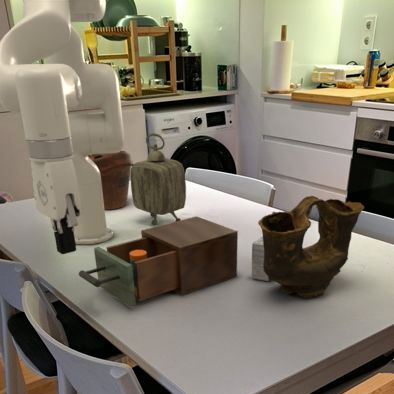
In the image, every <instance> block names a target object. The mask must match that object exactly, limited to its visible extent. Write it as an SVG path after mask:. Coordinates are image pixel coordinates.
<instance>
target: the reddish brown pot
mask: <svg viewBox="0 0 394 394" xmlns="http://www.w3.org/2000/svg"><path fill="white" fill-rule="evenodd" d="M88 157H89V158H90V159H91V160H92V161H93V162H94V163H95V164H96V166H97V167H98V169H99V171H100V175H101V184H102V192H103V201H104V209H105V210H115V209H120V208H123V207H125V206H127V204H128V198H129V197H128V196H129V189H130V188H129V187H130V181H131V177H130V175H131V168H132V166H133V164H134V162H133V159H132V156H131V154H130V153H129V152H128V151H127V150H121V151H120V152H117V153H110V154H92V155H88Z"/></svg>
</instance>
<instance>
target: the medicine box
mask: <svg viewBox="0 0 394 394" xmlns="http://www.w3.org/2000/svg"><path fill="white" fill-rule="evenodd" d="M263 263H264V246H263V236H261V237H260V238H258V239H257V240H255V241H254V242H252V245H251V275H250V277H251V279H253V280H258V281H263V282H270V281H271V279H270V278H268V276H267V274H266V273H265V272H264V268H263Z"/></svg>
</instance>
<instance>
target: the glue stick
mask: <svg viewBox="0 0 394 394" xmlns="http://www.w3.org/2000/svg"><path fill="white" fill-rule="evenodd" d="M129 254H130V264H131V265H132V268H133V279H134V286H136V275H135V264H134V262H137V261H140V260H144V259H147V252H146V251H144V250H134V251H131V252H130V253H129Z"/></svg>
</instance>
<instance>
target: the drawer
mask: <svg viewBox="0 0 394 394" xmlns="http://www.w3.org/2000/svg"><path fill="white" fill-rule="evenodd" d="M134 250H144V251H146V252H147V259H144V260H140V261H137V262H134V264H135V275H136V286H134V279H133V268H132V265H131V264H130V254H129V253H130V252H131V251H134ZM93 253H94V259H95V266H96V268H93V269H88V270H83V269H81V270H79V272H78V276H79V277H80V278H82V279H83V280H85V281H86V282H87V283H89V284H91V285H92V286H94V287H95V288H101V289H102V290H104V291H105V292H107V293H108V294H110V295H111V296H113V297H114V298H116V299H117V300H119V301H120V302H122V303H124V304H125V305H127V306H128V307H130V308H133V307H134V308H135V307H136V306H137V301H139V302H141V301H144V300H147V299H150V298H153V297H155V296H158V295H162V294H164V293H168V292H170V291H173V290H174V289H177V288H179V267H178V251H177V250H175V249H173V248H171V247H168V246H166V245H164V244H162V243H160V242H158V241H155V240H153V239H151V238H149V237H144V238H142V237H141V238H137V239H132V240H128V241H125V242H121V243H117V244H114V245H109V246H106V249H104V248H102V247H100V246H96V247H94V248H93ZM95 273H96V275H97V278H96V277H95V276H93V275H92V274H95ZM136 300H137V301H136Z"/></svg>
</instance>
